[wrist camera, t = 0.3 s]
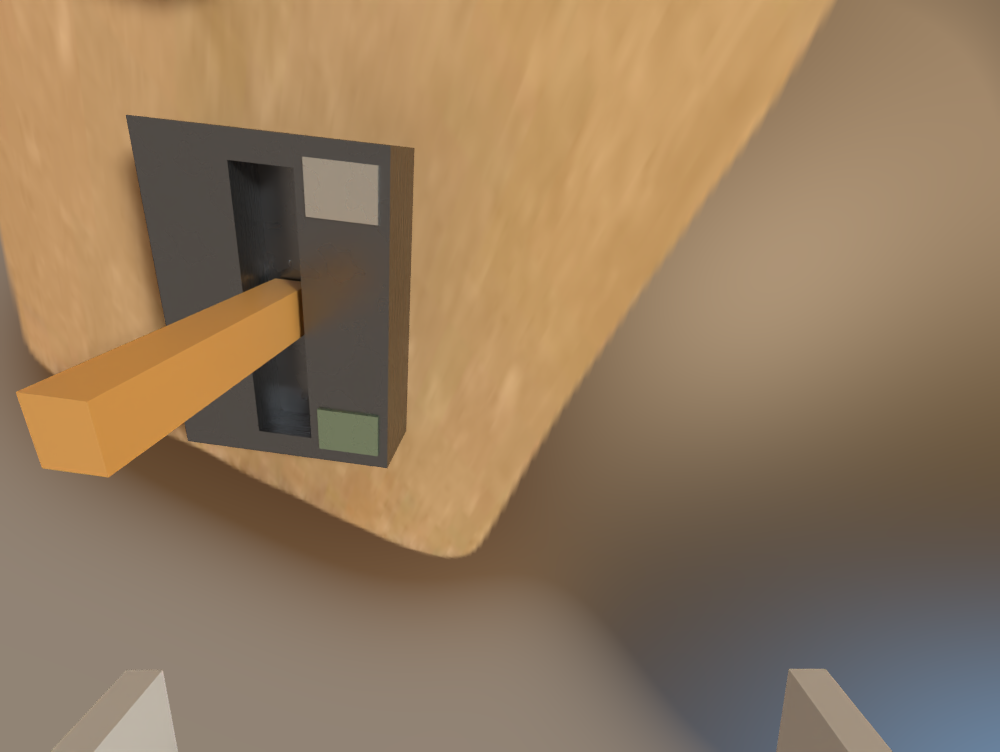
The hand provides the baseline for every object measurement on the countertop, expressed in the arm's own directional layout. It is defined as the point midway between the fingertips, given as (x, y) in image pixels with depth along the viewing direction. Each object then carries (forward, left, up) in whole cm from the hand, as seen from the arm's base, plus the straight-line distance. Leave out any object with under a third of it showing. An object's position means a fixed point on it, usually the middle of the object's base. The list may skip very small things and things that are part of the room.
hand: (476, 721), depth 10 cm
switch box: (+9, -12, -25) cm, 30 cm away
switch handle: (+9, -12, -23) cm, 28 cm away
